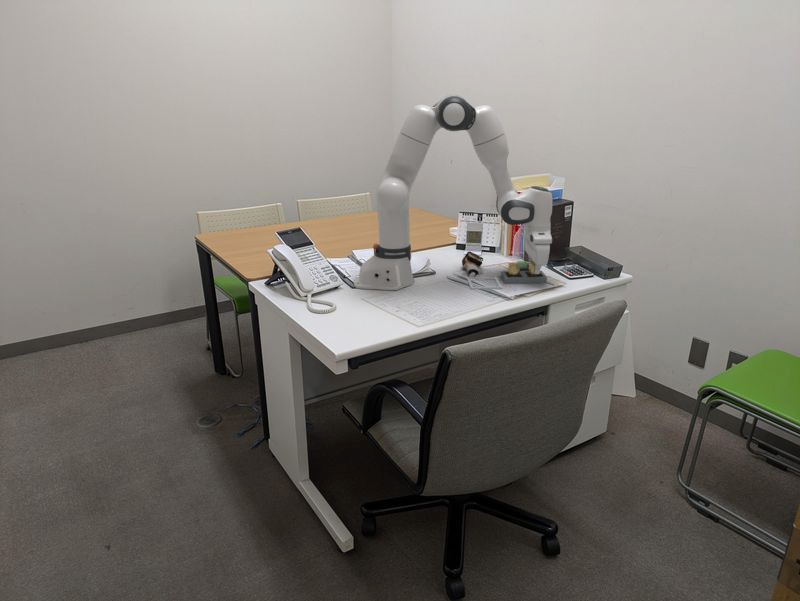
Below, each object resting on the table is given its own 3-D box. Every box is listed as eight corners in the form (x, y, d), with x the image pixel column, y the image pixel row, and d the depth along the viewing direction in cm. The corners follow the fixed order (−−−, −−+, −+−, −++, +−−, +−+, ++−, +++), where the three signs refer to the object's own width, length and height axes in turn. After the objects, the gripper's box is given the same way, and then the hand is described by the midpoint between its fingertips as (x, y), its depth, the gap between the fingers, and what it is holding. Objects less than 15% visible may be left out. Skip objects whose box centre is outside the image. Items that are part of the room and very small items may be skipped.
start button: (517, 274, 206) (517, 263, 204) (515, 270, 210) (515, 260, 208) (527, 273, 206) (528, 263, 204) (525, 270, 210) (526, 260, 208)
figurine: (468, 267, 199) (466, 246, 211) (456, 283, 203) (455, 262, 216) (489, 277, 201) (485, 256, 214) (477, 293, 205) (474, 272, 218)
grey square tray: (470, 292, 192) (470, 287, 191) (466, 282, 202) (467, 277, 201) (502, 292, 192) (502, 287, 191) (496, 281, 202) (496, 277, 201)
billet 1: (508, 281, 198) (509, 265, 196) (506, 278, 202) (507, 262, 200) (519, 281, 198) (520, 265, 196) (517, 277, 202) (518, 262, 200)
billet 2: (529, 281, 198) (530, 265, 196) (526, 277, 202) (528, 262, 200) (540, 281, 198) (541, 265, 196) (537, 277, 202) (539, 262, 200)
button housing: (513, 278, 205) (514, 268, 203) (510, 272, 211) (510, 262, 210) (532, 278, 205) (533, 268, 203) (528, 272, 211) (529, 262, 210)
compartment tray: (503, 287, 197) (504, 278, 195) (499, 278, 205) (499, 270, 204) (548, 286, 197) (548, 277, 195) (541, 278, 205) (542, 270, 204)
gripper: (521, 226, 204) (519, 261, 209) (535, 240, 185) (532, 279, 190) (538, 225, 204) (536, 261, 209) (553, 240, 185) (550, 278, 190)
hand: (534, 270), depth 199 cm, fingers open, 6 cm apart
